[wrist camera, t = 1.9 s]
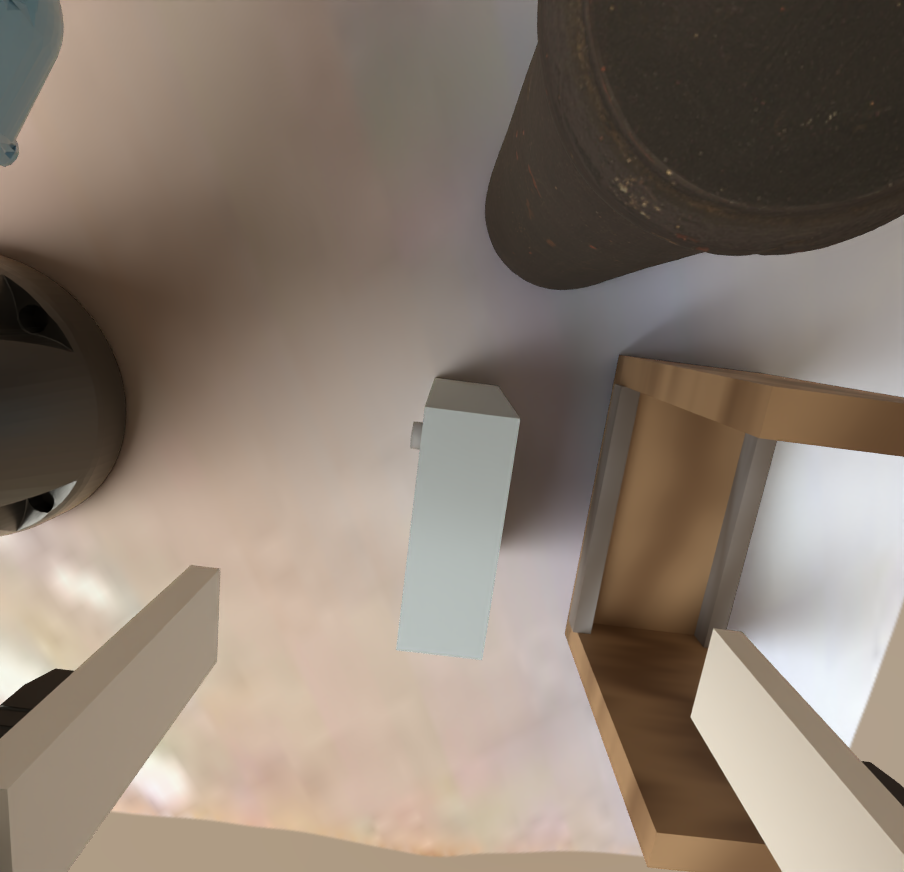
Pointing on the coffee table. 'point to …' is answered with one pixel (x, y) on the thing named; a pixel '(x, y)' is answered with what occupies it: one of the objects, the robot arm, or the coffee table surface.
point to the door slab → (457, 518)
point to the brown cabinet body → (687, 578)
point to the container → (698, 134)
